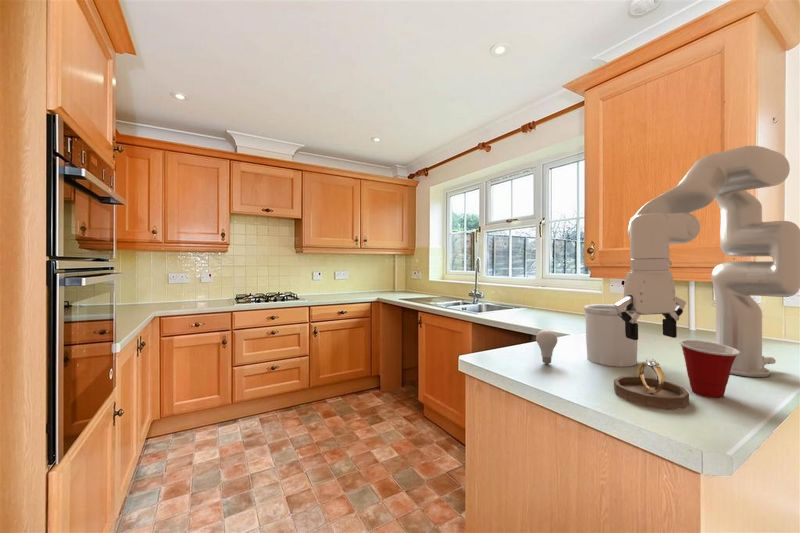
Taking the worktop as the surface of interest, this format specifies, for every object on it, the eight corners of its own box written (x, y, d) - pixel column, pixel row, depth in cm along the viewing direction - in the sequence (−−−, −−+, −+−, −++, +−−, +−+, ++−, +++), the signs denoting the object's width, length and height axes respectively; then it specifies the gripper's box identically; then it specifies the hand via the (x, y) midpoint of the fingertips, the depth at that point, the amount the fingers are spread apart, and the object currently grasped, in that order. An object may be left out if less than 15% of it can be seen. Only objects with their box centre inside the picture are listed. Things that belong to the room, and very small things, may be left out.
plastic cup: (729, 407, 75) (729, 353, 75) (671, 391, 84) (671, 343, 84) (747, 397, 80) (747, 346, 80) (690, 383, 90) (690, 337, 90)
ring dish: (652, 384, 89) (652, 375, 89) (705, 407, 75) (704, 396, 75) (601, 387, 88) (601, 377, 88) (645, 410, 74) (645, 399, 74)
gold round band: (667, 398, 78) (667, 364, 78) (652, 398, 78) (653, 363, 78) (647, 387, 85) (648, 355, 85) (634, 387, 85) (634, 355, 85)
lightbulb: (558, 363, 108) (558, 328, 108) (555, 368, 103) (555, 332, 103) (538, 360, 112) (538, 327, 111) (534, 365, 106) (534, 330, 106)
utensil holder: (579, 361, 110) (579, 307, 109) (589, 352, 121) (589, 302, 121) (634, 371, 100) (634, 311, 100) (640, 359, 111) (640, 305, 111)
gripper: (669, 264, 86) (670, 332, 86) (604, 267, 84) (605, 336, 84) (698, 265, 78) (699, 339, 79) (627, 268, 76) (628, 343, 77)
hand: (650, 337), depth 81 cm, fingers open, 9 cm apart
